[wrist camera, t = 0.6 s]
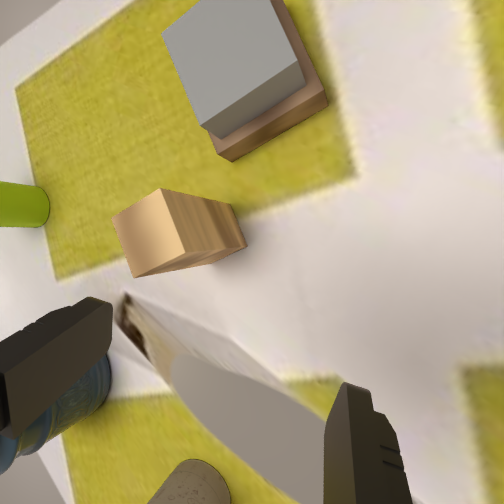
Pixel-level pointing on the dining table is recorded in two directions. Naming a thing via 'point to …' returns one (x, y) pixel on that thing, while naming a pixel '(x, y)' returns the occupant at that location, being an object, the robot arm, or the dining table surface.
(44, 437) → the canister
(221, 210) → the oak pillar
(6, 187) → the soap dispenser
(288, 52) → the gray slab
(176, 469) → the thermos bottle
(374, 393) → the dining table surface
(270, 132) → the walnut slab
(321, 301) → the dining table surface
